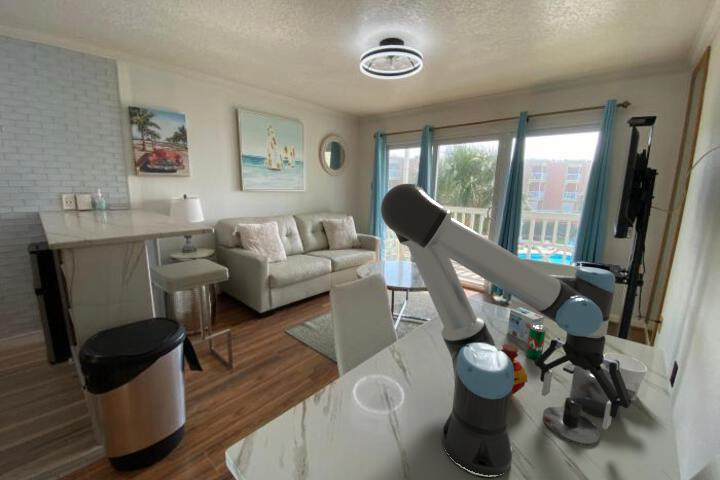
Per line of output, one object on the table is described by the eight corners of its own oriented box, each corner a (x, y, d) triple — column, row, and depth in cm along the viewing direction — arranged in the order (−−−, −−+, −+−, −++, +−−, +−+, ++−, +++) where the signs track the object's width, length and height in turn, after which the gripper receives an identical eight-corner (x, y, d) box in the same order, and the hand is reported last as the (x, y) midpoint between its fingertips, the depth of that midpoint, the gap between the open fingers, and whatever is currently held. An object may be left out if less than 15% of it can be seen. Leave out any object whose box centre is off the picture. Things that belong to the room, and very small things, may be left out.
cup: (594, 389, 94) (599, 359, 92) (602, 377, 100) (607, 349, 99) (637, 407, 86) (644, 376, 85) (643, 393, 93) (649, 363, 91)
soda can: (537, 353, 113) (541, 323, 111) (544, 361, 108) (548, 329, 106) (523, 352, 114) (527, 322, 112) (529, 360, 109) (533, 328, 107)
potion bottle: (502, 409, 84) (508, 359, 81) (478, 385, 94) (483, 340, 91) (532, 403, 86) (540, 355, 84) (506, 381, 96) (512, 337, 94)
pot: (620, 430, 78) (627, 399, 76) (553, 395, 90) (558, 367, 89) (634, 414, 84) (641, 384, 82) (570, 382, 97) (574, 356, 95)
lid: (585, 453, 71) (589, 426, 70) (533, 419, 81) (536, 395, 80) (607, 433, 77) (612, 408, 76) (556, 404, 87) (560, 382, 86)
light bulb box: (506, 332, 129) (509, 308, 127) (517, 330, 132) (520, 306, 130) (529, 345, 120) (533, 319, 118) (540, 341, 123) (544, 316, 121)
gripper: (660, 349, 66) (642, 435, 70) (540, 310, 86) (531, 378, 90) (650, 360, 62) (631, 450, 66) (526, 316, 82) (517, 387, 86)
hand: (573, 408), depth 78 cm, fingers open, 13 cm apart
